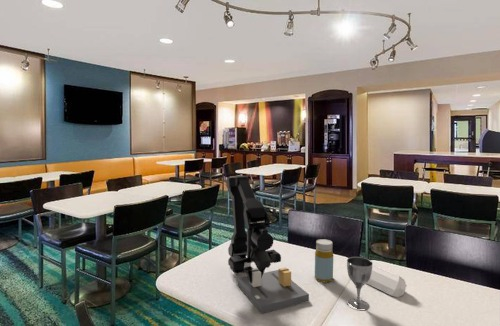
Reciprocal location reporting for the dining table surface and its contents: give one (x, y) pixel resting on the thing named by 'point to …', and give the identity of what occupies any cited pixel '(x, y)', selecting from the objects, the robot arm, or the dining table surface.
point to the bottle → (324, 260)
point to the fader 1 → (256, 277)
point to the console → (272, 293)
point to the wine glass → (359, 278)
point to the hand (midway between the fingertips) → (255, 282)
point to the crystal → (387, 281)
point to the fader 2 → (284, 276)
